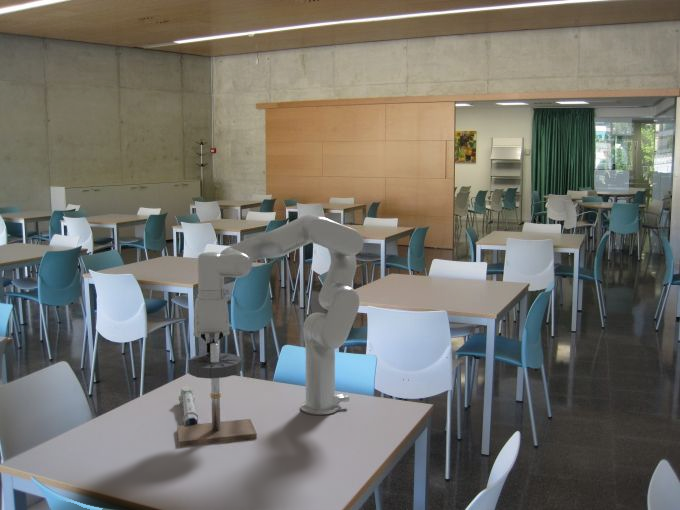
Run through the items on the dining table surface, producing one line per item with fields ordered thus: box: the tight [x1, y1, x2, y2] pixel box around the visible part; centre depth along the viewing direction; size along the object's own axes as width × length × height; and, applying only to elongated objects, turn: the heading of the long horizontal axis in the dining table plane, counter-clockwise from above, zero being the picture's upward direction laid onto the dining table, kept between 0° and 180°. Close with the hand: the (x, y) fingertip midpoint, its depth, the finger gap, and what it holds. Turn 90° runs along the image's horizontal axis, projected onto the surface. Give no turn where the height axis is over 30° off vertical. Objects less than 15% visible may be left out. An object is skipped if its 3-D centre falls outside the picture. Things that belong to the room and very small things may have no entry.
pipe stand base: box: [176, 418, 258, 448], centre depth 208 cm, size 22×12×2 cm, turn 106°
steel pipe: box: [210, 342, 221, 431], centre depth 206 cm, size 3×3×26 cm
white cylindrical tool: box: [178, 385, 199, 425], centre depth 224 cm, size 5×7×25 cm
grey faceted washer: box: [187, 352, 243, 380], centre depth 205 cm, size 15×15×3 cm
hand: (212, 354), depth 211 cm, fingers closed
